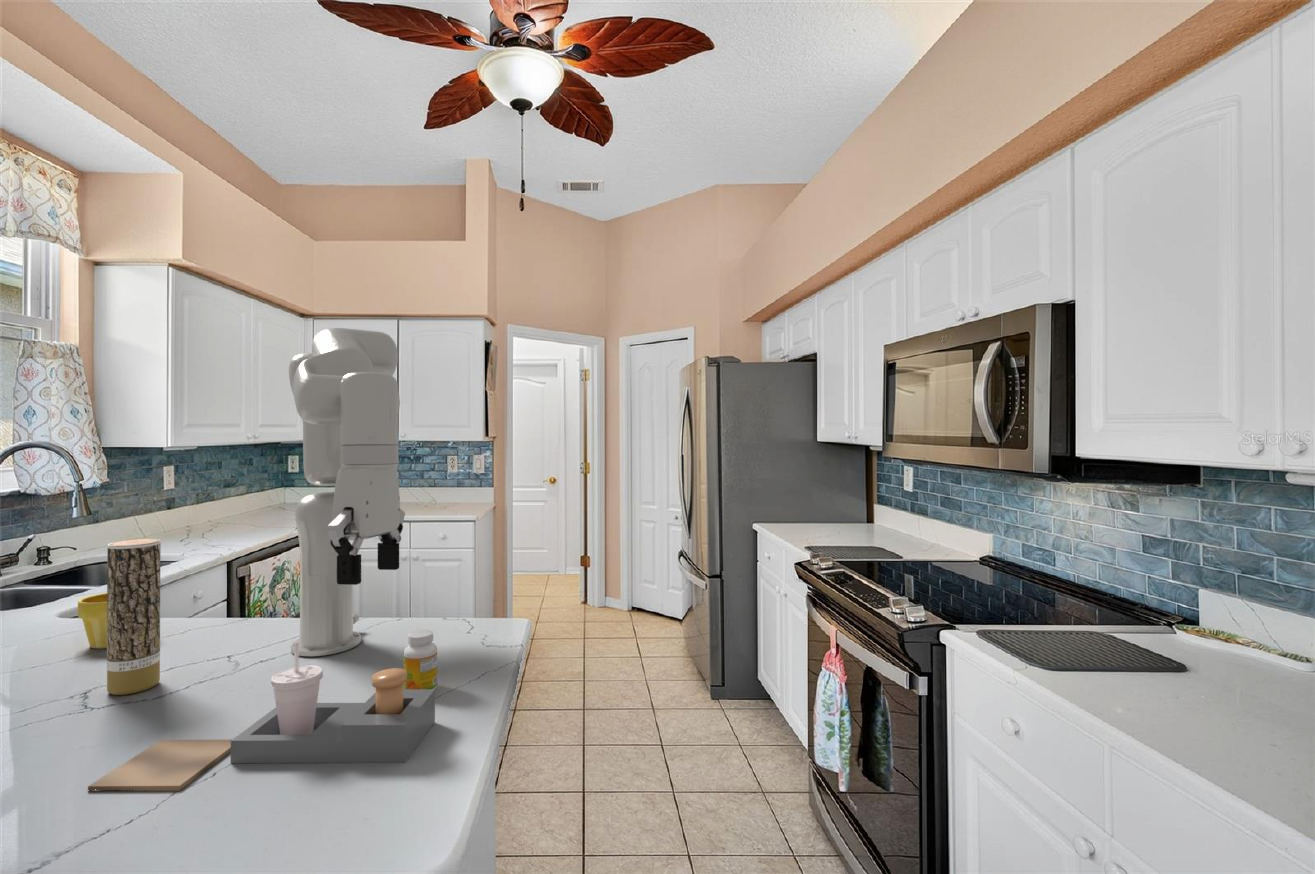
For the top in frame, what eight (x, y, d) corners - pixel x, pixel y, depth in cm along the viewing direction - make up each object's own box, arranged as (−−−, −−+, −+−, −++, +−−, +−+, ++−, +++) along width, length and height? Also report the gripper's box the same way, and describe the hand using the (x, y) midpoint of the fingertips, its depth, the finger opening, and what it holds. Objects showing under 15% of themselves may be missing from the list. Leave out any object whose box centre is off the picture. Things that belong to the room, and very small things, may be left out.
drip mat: (161, 743, 83) (161, 739, 83) (241, 743, 83) (241, 739, 83) (87, 791, 72) (87, 786, 72) (179, 790, 72) (179, 785, 72)
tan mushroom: (380, 715, 86) (380, 668, 86) (412, 715, 86) (412, 668, 86) (365, 731, 82) (365, 681, 82) (399, 731, 82) (399, 681, 82)
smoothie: (315, 725, 88) (316, 632, 88) (328, 741, 84) (329, 643, 84) (265, 741, 84) (265, 642, 84) (276, 758, 79) (276, 655, 79)
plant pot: (137, 631, 130) (137, 587, 130) (152, 641, 124) (152, 594, 124) (72, 644, 121) (72, 597, 121) (84, 656, 115) (84, 606, 115)
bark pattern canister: (170, 679, 104) (170, 538, 104) (137, 696, 98) (138, 545, 98) (130, 679, 104) (131, 538, 104) (95, 697, 97) (95, 545, 97)
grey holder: (281, 722, 89) (281, 689, 89) (434, 722, 90) (435, 689, 90) (230, 763, 78) (230, 725, 78) (405, 762, 79) (405, 724, 79)
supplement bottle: (397, 690, 101) (398, 633, 101) (428, 680, 105) (428, 626, 105) (411, 699, 97) (412, 640, 97) (442, 689, 101) (443, 633, 101)
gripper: (379, 457, 95) (379, 564, 94) (304, 459, 77) (304, 590, 77) (423, 456, 94) (423, 564, 94) (358, 458, 77) (358, 591, 76)
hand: (369, 576), depth 85 cm, fingers open, 9 cm apart
